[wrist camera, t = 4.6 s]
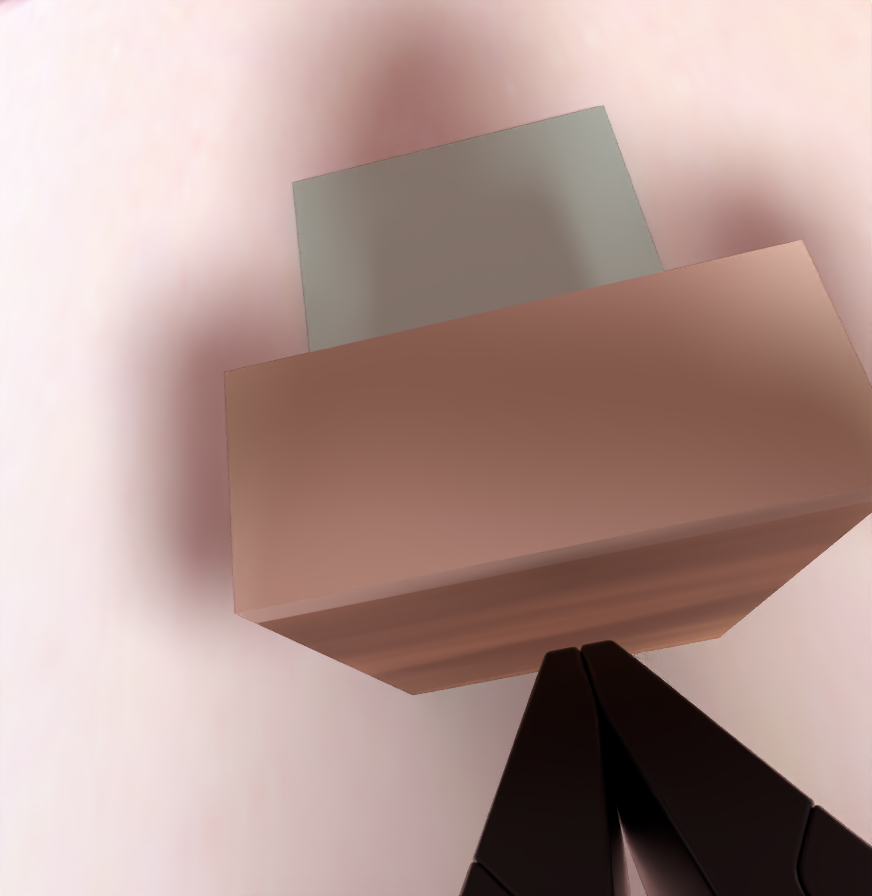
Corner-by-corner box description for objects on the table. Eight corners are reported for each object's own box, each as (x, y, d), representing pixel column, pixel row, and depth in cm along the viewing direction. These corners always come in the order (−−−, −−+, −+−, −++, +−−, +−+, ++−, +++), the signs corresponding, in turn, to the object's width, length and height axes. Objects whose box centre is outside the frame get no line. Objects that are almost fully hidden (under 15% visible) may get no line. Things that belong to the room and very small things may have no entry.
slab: (718, 637, 16) (913, 477, 7) (412, 695, 17) (234, 613, 8) (679, 511, 17) (802, 239, 8) (395, 568, 18) (224, 372, 9)
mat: (728, 460, 18) (731, 456, 17) (332, 542, 19) (328, 539, 18) (603, 113, 23) (603, 105, 22) (295, 189, 24) (292, 183, 23)
